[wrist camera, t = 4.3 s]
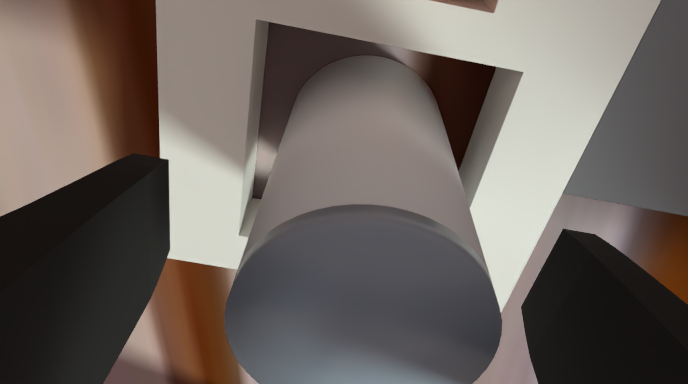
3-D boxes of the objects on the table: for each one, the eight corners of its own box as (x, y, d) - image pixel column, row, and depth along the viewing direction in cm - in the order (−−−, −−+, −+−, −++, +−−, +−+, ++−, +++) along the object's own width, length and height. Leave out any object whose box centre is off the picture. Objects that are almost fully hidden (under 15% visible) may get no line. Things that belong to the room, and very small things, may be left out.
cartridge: (460, 72, 12) (547, 256, 6) (418, 203, 14) (453, 433, 8) (301, 40, 12) (232, 201, 6) (282, 179, 14) (218, 397, 8)
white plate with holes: (709, -211, 9) (777, -229, 7) (487, 270, 15) (500, 313, 14) (185, -336, 8) (145, -384, 7) (184, 218, 15) (162, 257, 13)
